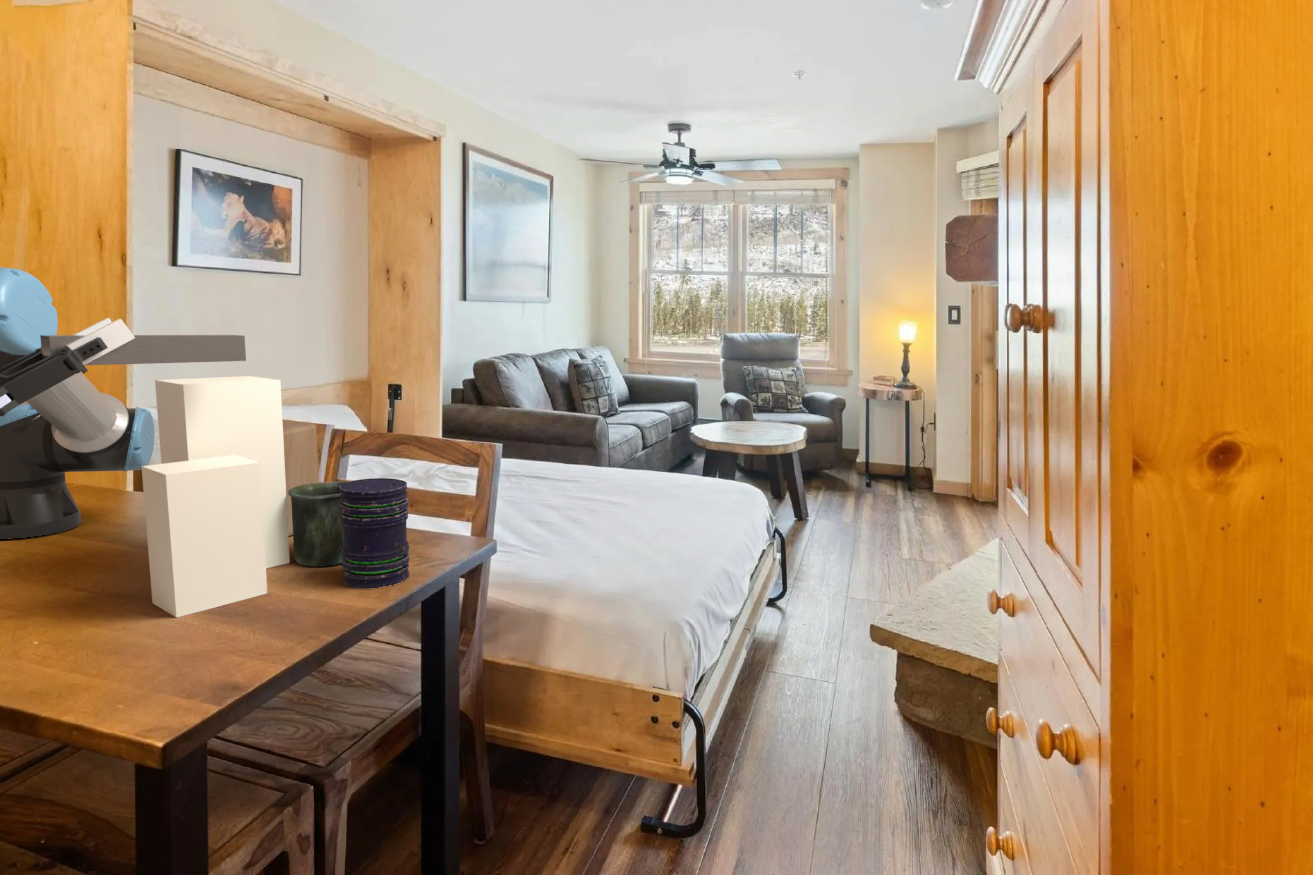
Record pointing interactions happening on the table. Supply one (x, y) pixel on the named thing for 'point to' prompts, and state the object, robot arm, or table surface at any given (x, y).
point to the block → (299, 459)
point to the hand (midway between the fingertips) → (120, 328)
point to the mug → (317, 524)
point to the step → (204, 533)
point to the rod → (159, 349)
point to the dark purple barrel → (374, 532)
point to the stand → (231, 437)
